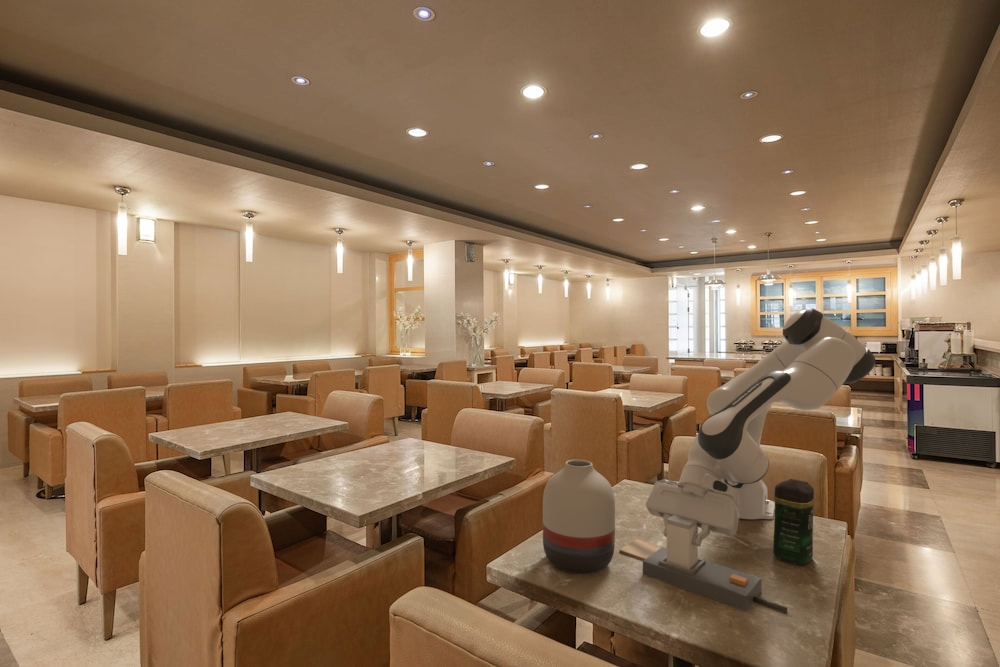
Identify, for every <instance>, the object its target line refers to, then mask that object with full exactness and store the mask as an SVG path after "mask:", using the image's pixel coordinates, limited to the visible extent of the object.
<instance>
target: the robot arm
mask: <svg viewBox="0 0 1000 667" xmlns="http://www.w3.org/2000/svg"><path fill="white" fill-rule="evenodd" d="M782 336H783V338H784V339H785V341H783V342H782V343H781V344H779V345H778V346H777V347H775V348H774V349H773V350H772V351H771V352H769V353H768V354H767V355H765V356H764V357H763V358H762V359H761V360H759V361H758V362H757V363H756V364H754V365H753V366H750V367H749V368H748V369H747V370H745V371H742V372H741V373H740V374H738V375H737V376H735V377H733V378H732V379H729V380H728V381H726V382H725V383H724V384H723V385H721V386H719V387H718V388H716V389H714V390H712V391H711V392H710V393H709V395H708V396H707V399H706V408H707V411H708V412H709V415H710V416H708V417H707V418H706V419H705V420H704V421H703V422H702V423H701V425H700V427H699V430H698V432H697V434H696V435H695V437H694V439H693V441H692V444H691V447H690V449H689V452H688V455H687V456H688V460H687V462H686V463H685V465H684V466H683V468H682V471H681V475H680V478H679V480H678V481H675V480H670V479H669V480H668V479H664V478H662V479H661V480H657V481H655V482H654V484H653V487H652V491H650V494H649V496H648V498H647V500H646V501H645V506H646V509H647V511H648V512H649V514H650V515H653V516H656V517H659V518H662V519H663V523H664V527H665V528H664V531H663V536H664V537H666V538H667V519H668V518H669V517H671V516H673V515H674V514H676V515H680V516H683V517H687V518H691V519H695V520H697V522H698V529H699V528H700V530H701V531H700V532H698V535H694V534H693V539H692V543H693V545H696V546H698V547H699V548H700V547H701V546H702V542H703V541H704V540H705V539H706V538H708V537H709V536H710V534H711V532H714V533H715V532H716V533H718V534H722V535H726V536H730V537H733V536H734V535H735V534H736V533H737V531H738V527H739V521H740V520H739V519H741V520H742V519H743V520H773V519H774V517H775V511H774V510H775V501H773V500H770V499H768V487H767V485H766V484H765V482H764V481H763V478H764V477H765V475H766V474H767V473H768V470H769V467H770V459H769V457H768V455H767V454H766V453H765V451H764V450H763V449H762V447H761V439H762V435H763V430H764V426H765V422H766V419H767V415H768V412H769V411H770V410H771V407H772V405H773V404H774V403H776V402H780V403H781V404H783V405H786V406H788V407H791V408H793V409H797V410H800V411H813V410H819V409H821V408H822V407H823V406H824V405H826V404H828V402H829V401H830V400H831V399H832V398H833V396H834V395H835V394H836V393H837V392H838V390H839V389H840V388H841V387H842V385H843V384H854V383H857V382H858V381H861V380H862V379H864V378H865V377H867V376H868V375H869V374H870V373H871V371H872V370H873V369H874V368H875V364H876V356H875V355H874V353H873V352H872V351H871V350H870V349H869V348H868V347H866V346H865V345H863V344H862V343H861V342H860V341H859V340H858V338H856V337H855V336H854V335H853V333H851V332H849V331H848V330H847V329H844V328H843V327H841V326H840V324H838V323H836V322H835V321H833V320H831V319H830V318H828V317H826V316H825V315H824V313H823V312H821V311H819V310H817V309H815V308H812V307H806V308H805V307H804V308H802V309H801V310H799V311H797V312H795V313H793V314H792V315H790V316H789V318H788V319H787V320H786V322H785V324H784V325H783V327H782ZM773 516H774V517H773Z"/></svg>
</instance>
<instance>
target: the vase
mask: <svg viewBox="0 0 1000 667" xmlns="http://www.w3.org/2000/svg"><path fill="white" fill-rule="evenodd" d="M542 496H543V498H542V544H543V551H544V553H545V556H546V558H547V561H549V563H550V564H552V565H553V566H554V567H556V568H557V569H559V570H562V571H565V572H567V573H572V574H581V575H582V574H583V575H585V574H594V573H597V572H600V571H602V570H604V569H605V568H606V567H608V566H609V564H610V563H611V561H612V559H613V556H614V553H615V545H616V544H615V543H616V542H615V541H616V499H615V498H616V497H615V493H614V490H613V487H612V485H611V483H610V482H609V481H608V480H607V479H606V478H605V476H603V475H602V474H601V473H599V472H598V471H597V470H596V469H595V468H594V465H593V463H592V462H591V461H589V460H584V459H571V460H570V459H569V460H566V462H565V464H564V467H563V468H562V469H560V470H558V471H557V472H556V473H554V474H553V475H552V476H551V477H550V478H549V479H548V481H547V482H546V484H545V487H544V490H543V495H542Z"/></svg>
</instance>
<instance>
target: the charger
mask: <svg viewBox="0 0 1000 667" xmlns="http://www.w3.org/2000/svg"><path fill="white" fill-rule="evenodd" d="M693 534H694V535H698V534H699V527H698V522H697V520H695V519H691V518H687V517H683V516H680V515H676V514H674V515H673V516H671V517H669V518H668V519H667V537H666V548H667V563H670V564H673V565H676V566H679V567H682V568H685V569H688V570H690V569H691V568H693V567H694V566H695V565H696V564H697V563H698V558H699V557H698V556H699V555H698V554H699V553H698V551H699V550H698V549H699V548H698V547H699V546H696V545H693V543H692V539H693Z"/></svg>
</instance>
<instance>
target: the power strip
mask: <svg viewBox="0 0 1000 667" xmlns="http://www.w3.org/2000/svg"><path fill="white" fill-rule="evenodd" d="M661 547H662V548H660V549H659V550H657V551H656V552H655V553H653V554H652V555H650V556H649V557H648V558H646V559H645V560H642V575H643V574H644V576H646V575H647V577H650V578H653V579H655V580H657V581H661V582H663V583H665V584H669V585H672V586H674V587H677V588H681V589H683V590H685V591H688V592H691V593H694V594H697V595H700V596H702V597H706V598H708V599H711V600H714V601H716V602H719V603H722V604H724V605H728V606H730V607H733V608H736V609H739V610H740V611H741V610H742V611H744V612H747V611H748V610H749V609H750V607H751V606H752V605H753V603H757V604H759V605H762V606H766V607H768V608H771V609H774V610H777V611H780V612H783V613H788V611H789V610H788V607H786V606H785V605H784V606H783V605H780V604H777V603H775V602H772V601H769V600H766V599H764V598H761V597H759V596H760V594H761V593H762V577H759V576H756V575H753V574H749V573H747V572H743V571H740V570H737V569H733V568H730V567H728V566H724V565H722V564H719V563H718V564H717V563H714V562H711V561H708V560H706V559H702V558H699V557H698V563H697V564H696V565H695V566H694V567H693V568H691V569H690V570H688V569H685V568H682V567H679V566H676V565H673V564H670V563H667V547H664V546H661ZM663 547H664V548H663Z"/></svg>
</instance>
